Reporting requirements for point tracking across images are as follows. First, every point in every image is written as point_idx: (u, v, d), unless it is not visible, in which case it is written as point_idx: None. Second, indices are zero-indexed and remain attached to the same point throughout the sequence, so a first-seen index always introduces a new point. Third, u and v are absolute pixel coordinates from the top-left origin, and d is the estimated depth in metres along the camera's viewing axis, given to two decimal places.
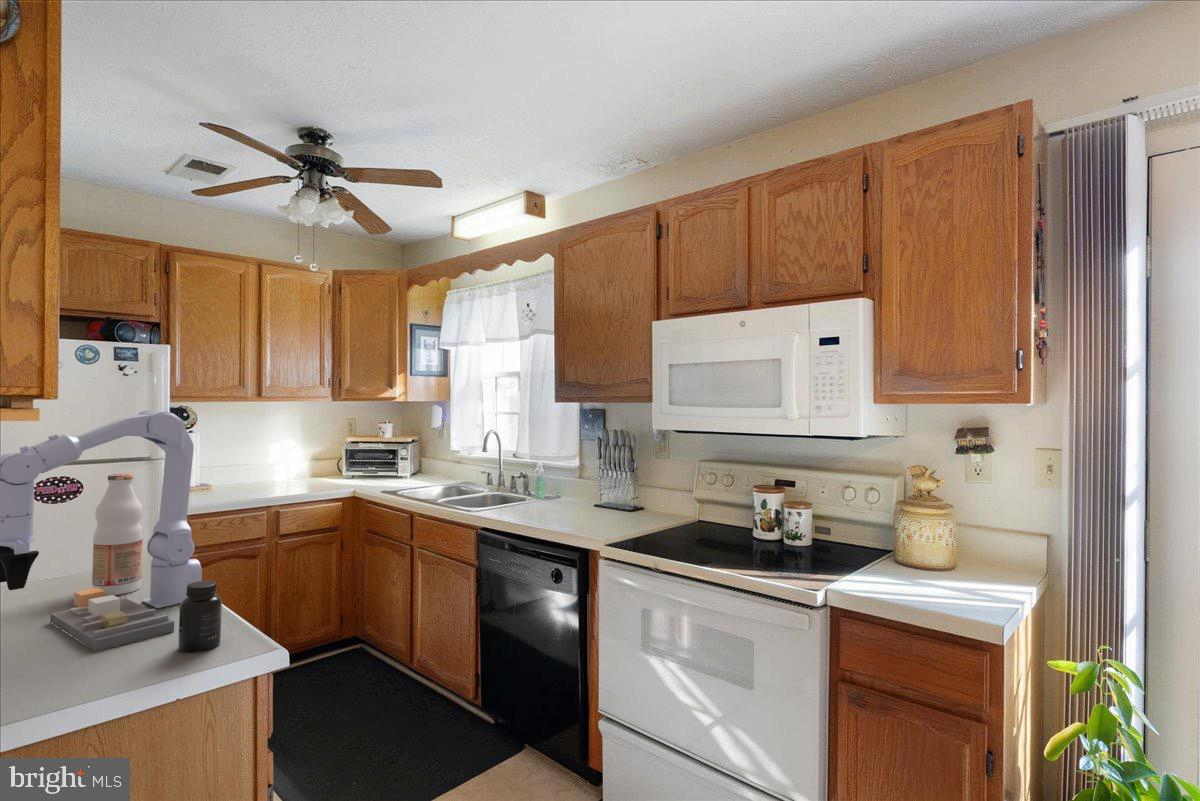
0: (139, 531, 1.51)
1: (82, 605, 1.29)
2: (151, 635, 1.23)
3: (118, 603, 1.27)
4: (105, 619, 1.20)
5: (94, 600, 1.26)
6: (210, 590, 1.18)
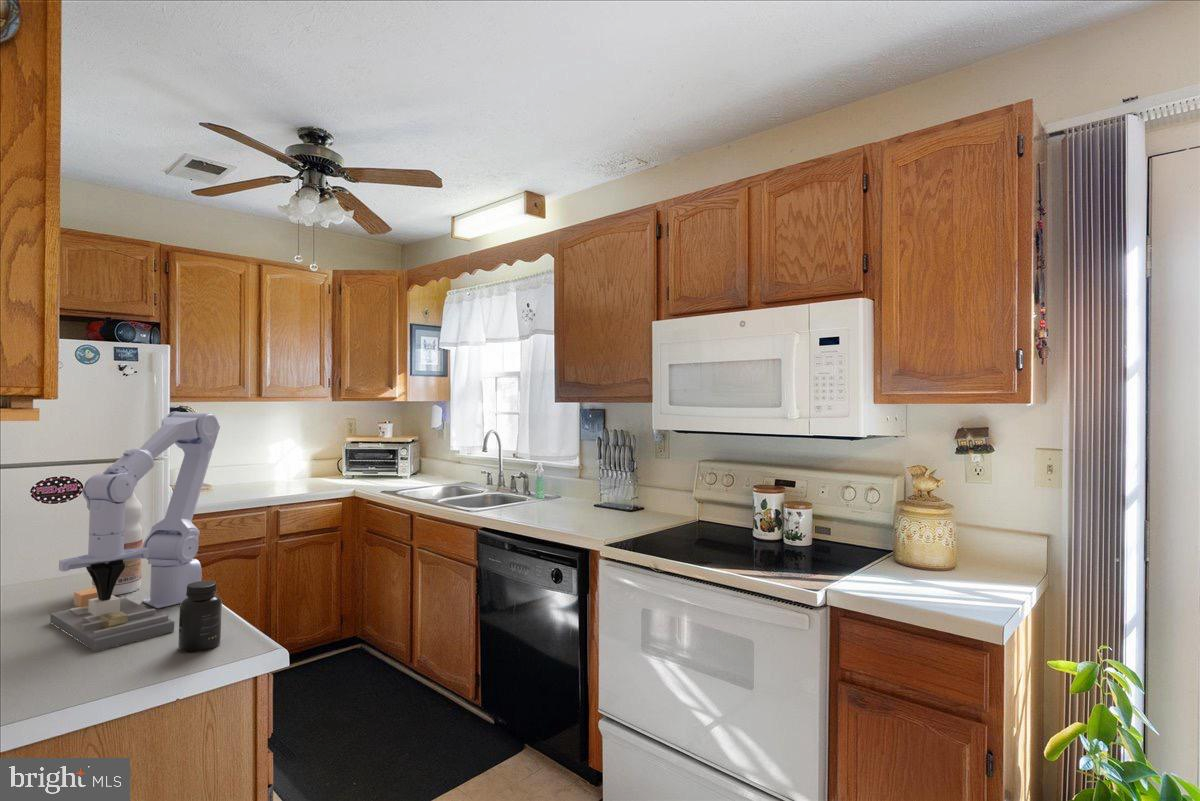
0: (139, 531, 1.51)
1: (82, 605, 1.29)
2: (151, 635, 1.23)
3: (118, 603, 1.27)
4: (105, 619, 1.20)
5: (94, 600, 1.26)
6: (210, 590, 1.18)
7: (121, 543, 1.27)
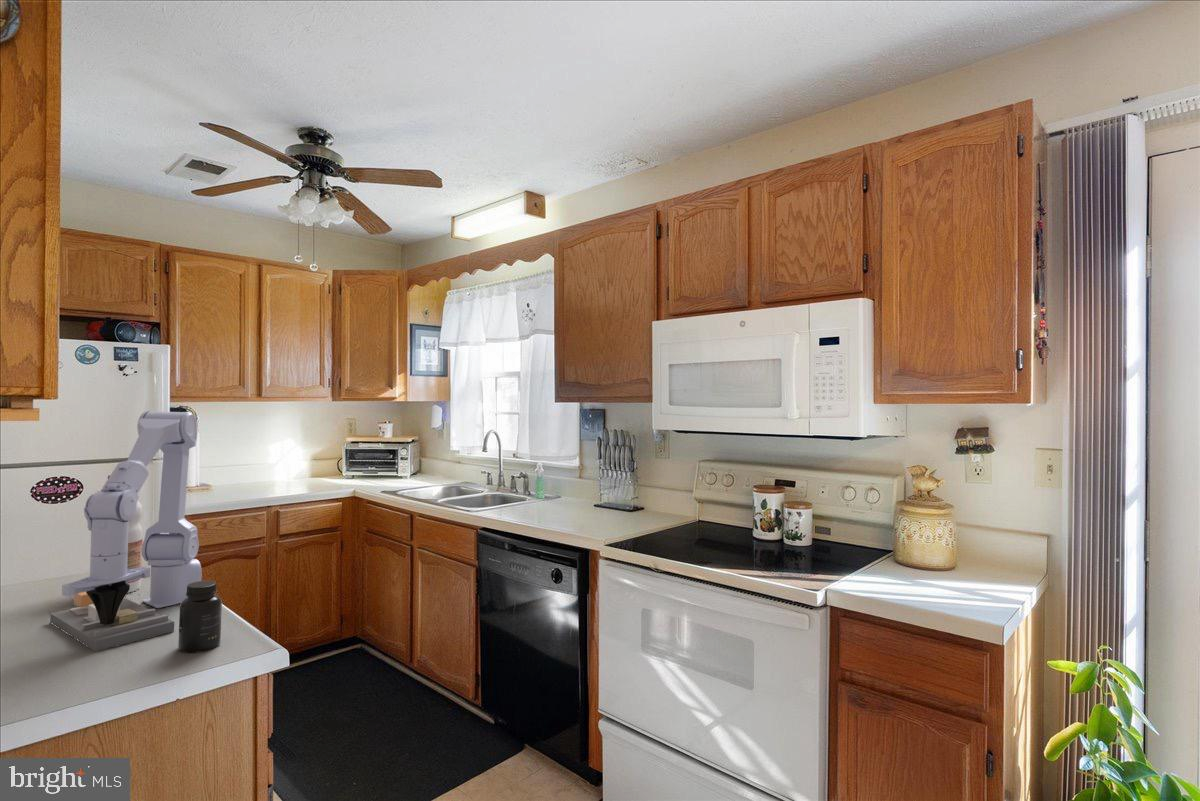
0: (139, 531, 1.51)
1: (82, 605, 1.29)
2: (151, 635, 1.23)
3: None
4: (115, 617, 1.22)
5: None
6: (210, 590, 1.18)
7: (126, 563, 1.22)
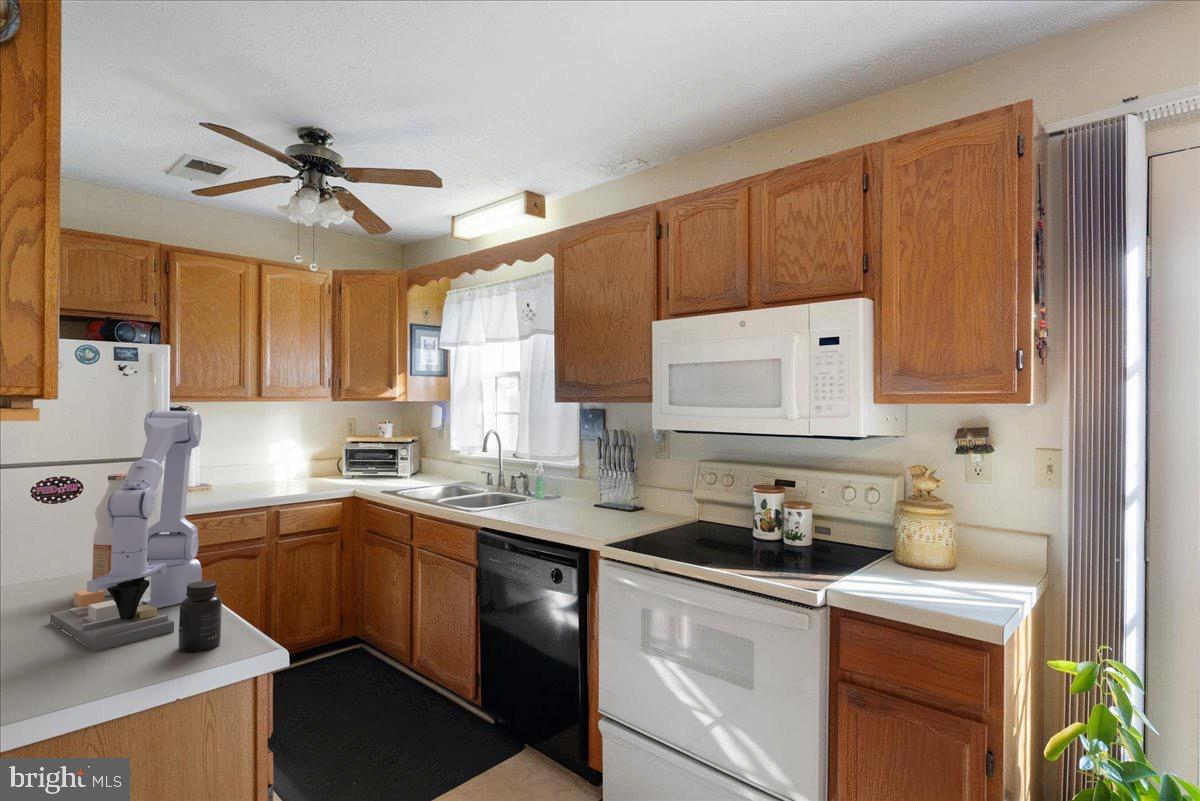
0: None
1: (82, 605, 1.29)
2: (151, 635, 1.23)
3: None
4: (136, 612, 1.25)
5: (94, 605, 1.26)
6: (210, 590, 1.18)
7: (146, 559, 1.25)
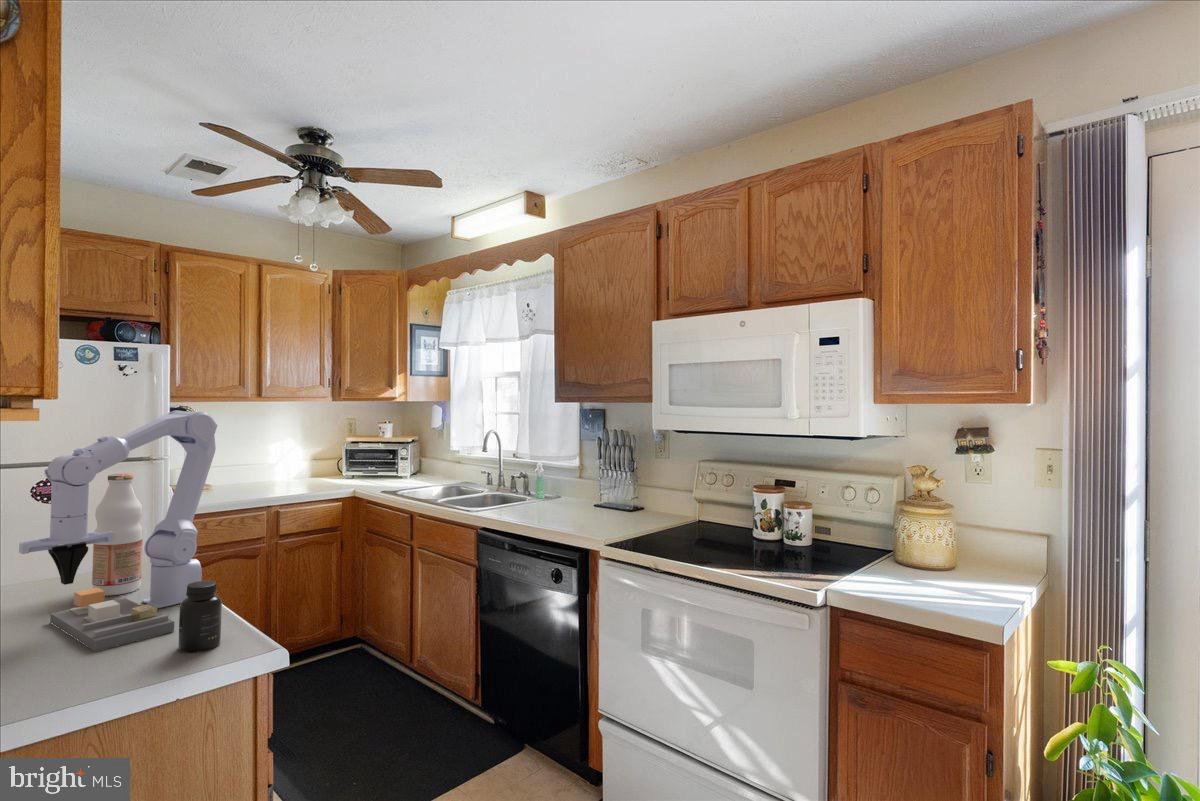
0: (139, 531, 1.51)
1: (82, 605, 1.29)
2: (151, 635, 1.23)
3: (118, 608, 1.27)
4: (136, 612, 1.25)
5: (94, 605, 1.26)
6: (210, 590, 1.18)
7: (84, 526, 1.26)
